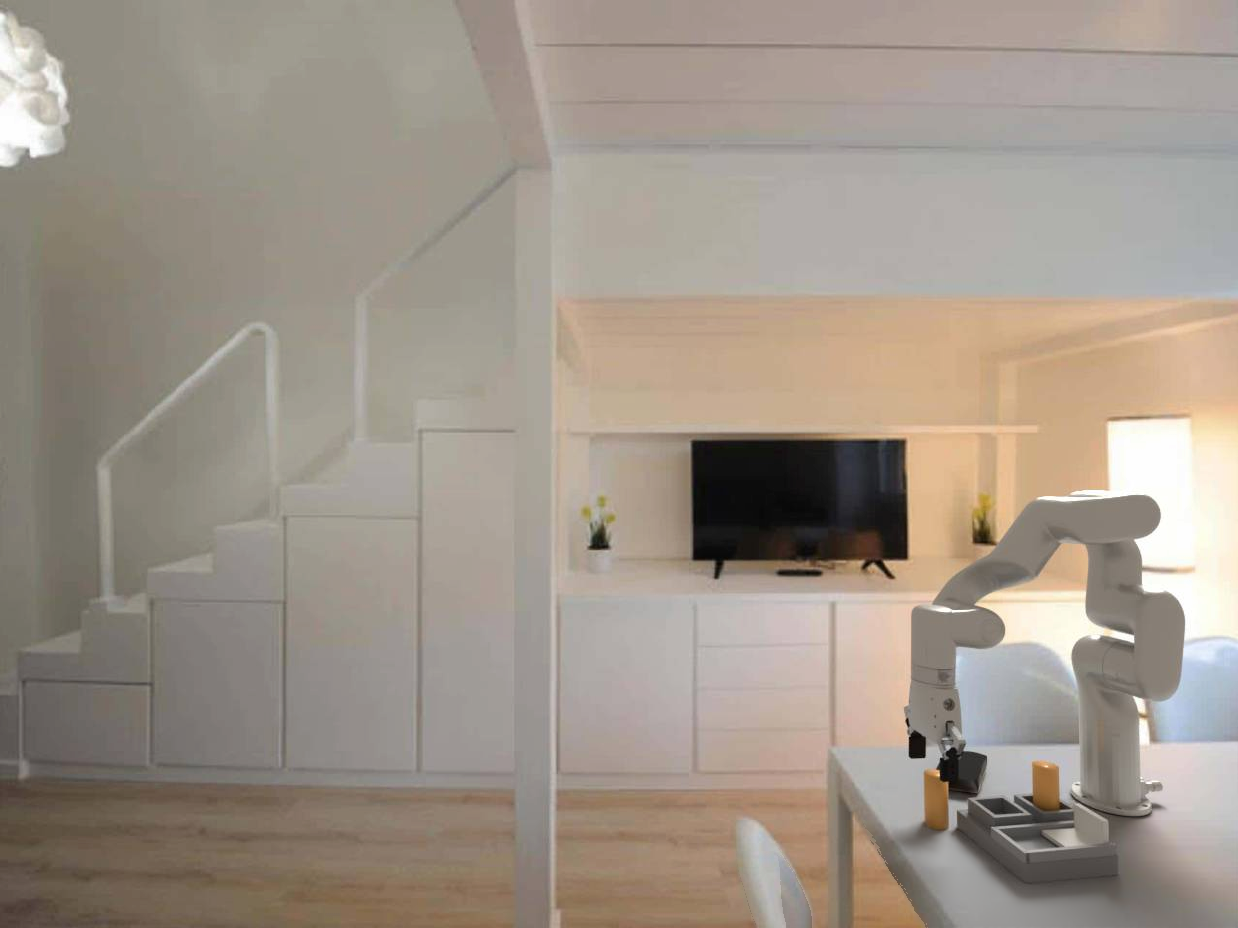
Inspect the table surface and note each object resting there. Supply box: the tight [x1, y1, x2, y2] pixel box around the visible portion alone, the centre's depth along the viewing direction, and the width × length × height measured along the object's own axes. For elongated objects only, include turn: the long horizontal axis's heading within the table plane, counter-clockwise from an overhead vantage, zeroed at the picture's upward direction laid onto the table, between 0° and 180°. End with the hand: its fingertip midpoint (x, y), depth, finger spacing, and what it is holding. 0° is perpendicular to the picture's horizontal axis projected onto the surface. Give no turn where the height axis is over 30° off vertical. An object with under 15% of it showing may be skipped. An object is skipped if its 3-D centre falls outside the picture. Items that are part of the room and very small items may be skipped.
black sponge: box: [935, 750, 988, 794], centre depth 140 cm, size 16×8×4 cm, turn 145°
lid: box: [1042, 802, 1110, 847], centre depth 110 cm, size 7×6×5 cm
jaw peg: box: [923, 768, 950, 831], centre depth 122 cm, size 4×4×9 cm
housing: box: [956, 760, 1119, 884], centre depth 114 cm, size 18×17×12 cm
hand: (932, 768), depth 122 cm, fingers open, 9 cm apart
